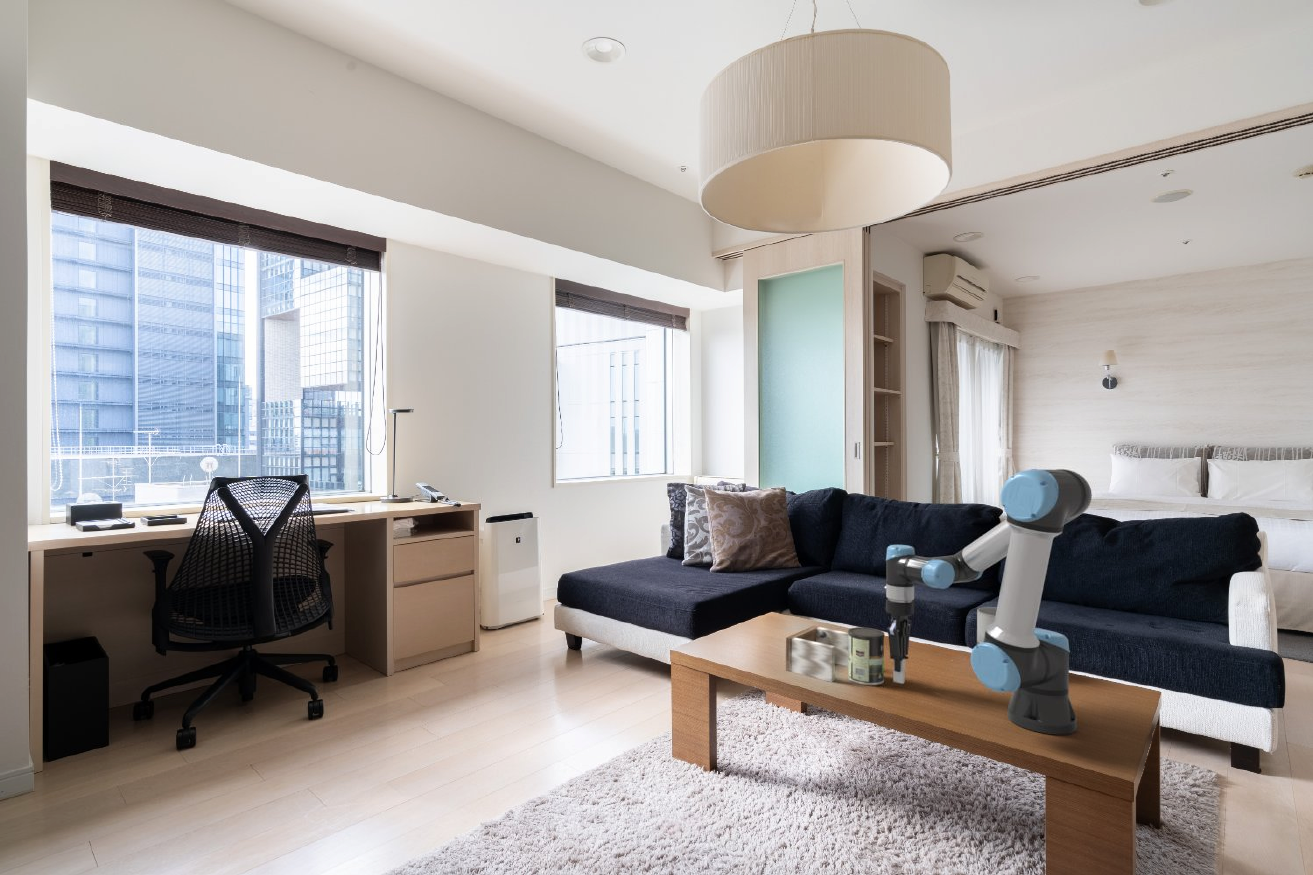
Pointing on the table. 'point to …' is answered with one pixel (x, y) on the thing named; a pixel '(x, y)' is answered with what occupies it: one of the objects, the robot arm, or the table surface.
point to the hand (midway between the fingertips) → (898, 681)
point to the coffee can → (866, 656)
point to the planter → (984, 621)
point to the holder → (817, 652)
